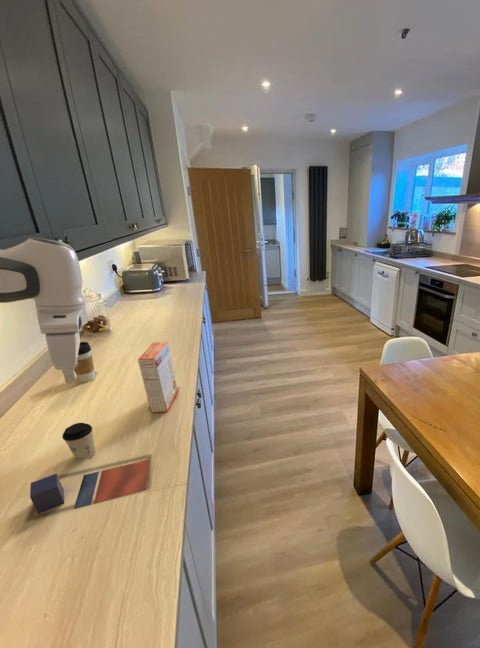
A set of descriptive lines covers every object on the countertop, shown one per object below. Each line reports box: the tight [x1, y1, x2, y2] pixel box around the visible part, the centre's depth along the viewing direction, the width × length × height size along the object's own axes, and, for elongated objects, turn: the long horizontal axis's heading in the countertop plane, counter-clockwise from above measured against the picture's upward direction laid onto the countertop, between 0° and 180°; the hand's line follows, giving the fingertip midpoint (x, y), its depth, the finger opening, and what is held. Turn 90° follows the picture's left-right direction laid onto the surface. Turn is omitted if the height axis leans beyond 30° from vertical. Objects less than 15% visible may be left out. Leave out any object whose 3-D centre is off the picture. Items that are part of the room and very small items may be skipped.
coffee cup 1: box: [74, 341, 96, 383], centre depth 130 cm, size 8×8×15 cm
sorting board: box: [73, 458, 151, 510], centre depth 81 cm, size 24×12×1 cm, turn 111°
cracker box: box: [137, 341, 179, 413], centre depth 113 cm, size 14×6×21 cm, turn 3°
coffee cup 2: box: [61, 422, 96, 460], centre depth 90 cm, size 7×7×10 cm
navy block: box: [29, 473, 65, 515], centre depth 75 cm, size 5×5×6 cm
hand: (72, 374), depth 76 cm, fingers open, 8 cm apart
